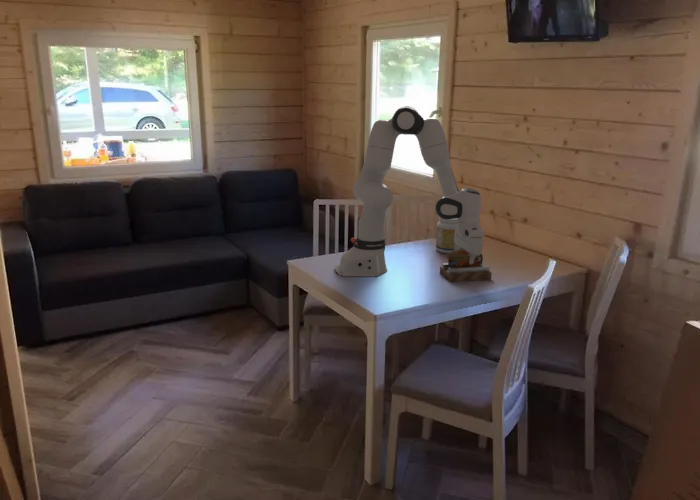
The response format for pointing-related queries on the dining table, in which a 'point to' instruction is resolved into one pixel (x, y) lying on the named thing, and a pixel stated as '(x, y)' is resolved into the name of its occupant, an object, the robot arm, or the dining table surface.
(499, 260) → the dining table surface
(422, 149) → the robot arm
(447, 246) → the supplement tub
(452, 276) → the dock
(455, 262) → the tin
